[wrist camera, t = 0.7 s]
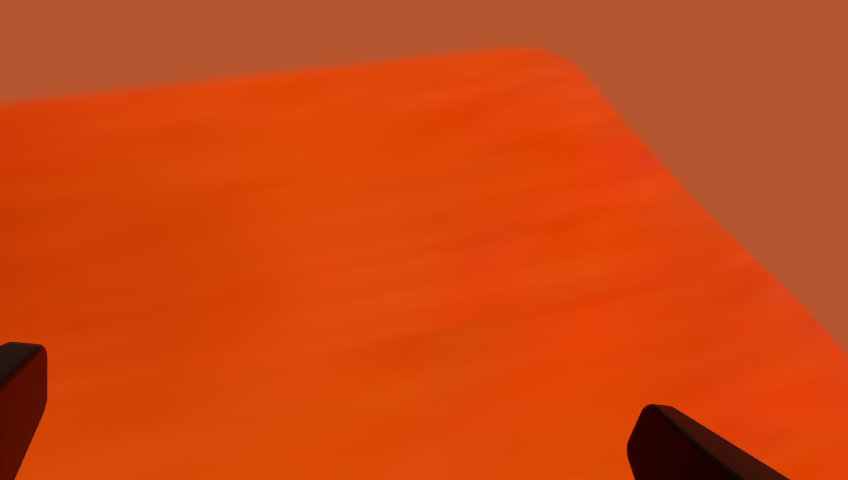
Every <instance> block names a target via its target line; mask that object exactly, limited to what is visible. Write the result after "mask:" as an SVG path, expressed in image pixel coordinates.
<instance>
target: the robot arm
mask: <svg viewBox="0 0 848 480" xmlns="http://www.w3.org/2000/svg"><path fill="white" fill-rule="evenodd" d="M46 402H47V352H46V349H45V348H44V347H43V346H42V345H40V344H30V343H20V342H8V343H6V344H3V345H1V346H0V480H14V479H15V477H16V475H17V473H18V470H19V468H20V466H21V463H22V461H23V459H24V457H25V454H26V452H27V450H28V447H29V445H30V443H31V441H32V438H33V436H34V434H35V431H36V429H37V427H38V425H39V422H40V420H41V418H42V415H43V413H44V410H45V406H46ZM627 456H628V460H629V463H630V466H631V469H632V472H633V475H634V478H635V480H790V479H788V478H787V477H785V476H783V475H782V474H780V473H778V472H777V471H775V470H774V469H772V468H770V467H769V466H767V465H766V464H764V463H762V462H761V461H759V460H758V459H756V458H754V457H753V456H751V455H749V454H748V453H746V452H745V451H743V450H741V449H740V448H738V447H737V446H735V445H733V444H732V443H730V442H729V441H727V440H725V439H724V438H722V437H720V436H719V435H717V434H716V433H714V432H712V431H711V430H709V429H708V428H706V427H704V426H703V425H701V424H700V423H698V422H696V421H695V420H693V419H691V418H690V417H688V416H687V415H685V414H683V413H682V412H680V411H679V410H677V409H675V408H674V407H671V406H667V405H656V404H649V405H647V406H645V407H644V408H643V410H642V411H641V413H640V416H639V418H638V420H637V422H636V425H635V427H634V429H633V431H632V433H631V436H630V438H629V440H628V444H627Z"/></svg>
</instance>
